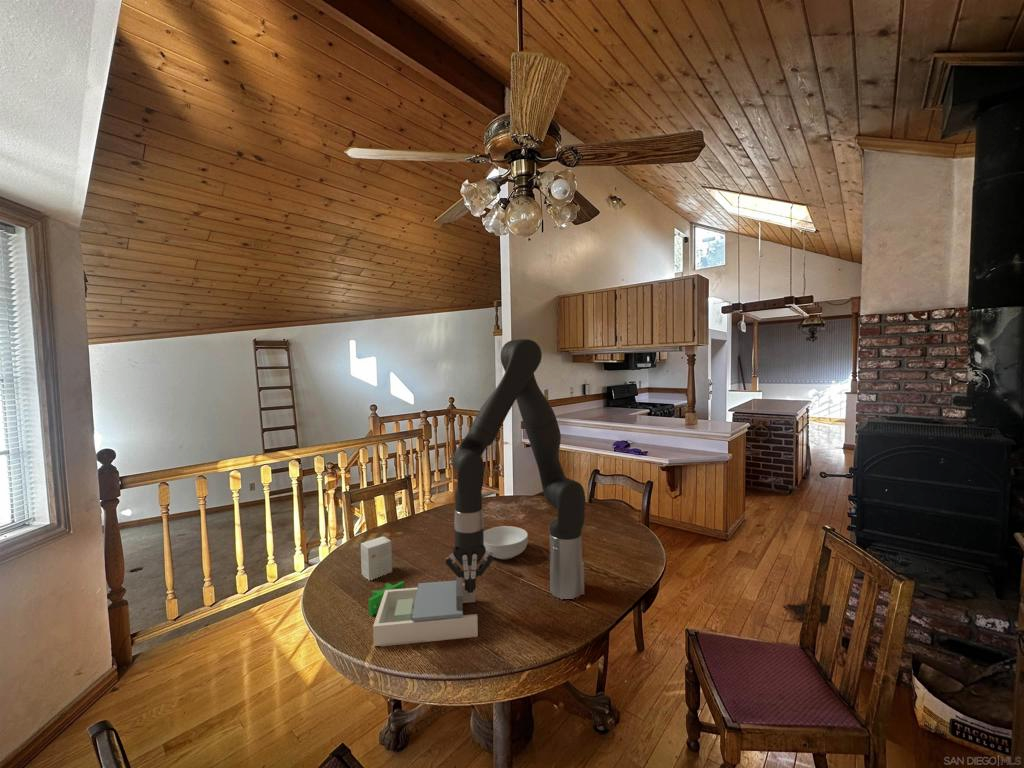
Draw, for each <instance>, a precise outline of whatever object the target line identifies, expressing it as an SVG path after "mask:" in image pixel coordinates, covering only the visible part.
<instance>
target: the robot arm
mask: <svg viewBox="0 0 1024 768" xmlns="http://www.w3.org/2000/svg"><path fill="white" fill-rule="evenodd" d="M542 357H543V355H542V348H541V347H540V345H539V344H538V343H537V342H536V341H534V340H533V339H528V338H527V339H526V338H522V339H521V338H520V339H519V338H518V339H512V340H510V341H507V342H506V343H504V345H503V346H502V348H501V351H500V362H501V365H502V367H503V370H504V375H503V376H502V378H501V380H500V382H499V384H498V385H497V386H496V388H495V389H494V391H493V392H492V393H491V394H490V395H489V397H487V399H486V400H485V402H484V403H483V404H482V406H481V407H480V409H479V411H478V412H477V414H476V416H475V418H474V421H473V422H472V425H470V429H469V430H468V432H467V434H466V435H465V436H464V438H463V439H462V441H461V442H460V444H459V445H458V447H457V449H456V450H455V452H454V455H453V456H452V466H453V469H454V471H456V476H457V479H456V480H457V487H456V488H455V491H454V519H453V522H454V524H453V527H454V547H453V550H452V553H451V554H450V555H447V556H446V557H445V564H446V565H447V567H448V568H449V569H450V570H451V571H452V572H453V574H454V575H457V576H458V577H459V578H461V577H462V579H464V583H465V590H466V591H468V593H473V590H475V591H476V587H477V583H476V579H477V578H478V577H482V576H483V575H484V573H485V572H486V570H487V569H488V567H489V566H490V565H491V564H492V562H493V561H494V557H493V554H492V553H491V552H490V553H489V552H487V551H486V548H485V546H484V524H485V523H484V513H483V493H482V489H483V483H484V479H485V478H484V477H485V465H484V464H485V463H484V459H483V458H482V456H483V454H484V452H485V450H487V447H488V446H489V447H490V446H491V445H492V444H493V442H494V441H495V440H496V437H497V436H498V433H499V431H500V429H501V428H502V425H503V424H504V421H505V419H506V418H507V416H508V414H509V412H510V410H511V408H512V407H513V405H514V403H515V401H516V404H517V406H518V407H517V408H518V410H519V412H520V416H521V419H522V424H523V427H524V429H525V432H526V436H527V439H528V441H529V444H530V447H531V450H532V452H533V457H534V459H535V462H536V466H537V468H538V473H539V478H540V483H541V488H542V491H543V496H544V498H545V500H546V502H547V503H548V504H549V505H550V506H552V507H553V508H555V509H557V518H556V519H554V520H552V521H550V523H549V589H550V590H549V591H550V594H551V595H552V597H554V598H556V597H557V599H559V598H560V599H559V600H563V599H573V600H575V599H574V598H576V597H578V596H580V595H582V594H584V595H585V562H584V560H583V557H582V556H583V553H582V552H583V551H582V550H583V548H582V547H583V544H582V543H583V541H582V534H583V533H582V531H583V527H584V525H585V515H586V493H585V490H584V487H583V485H582V484H581V483H580V482H578V481H577V480H573V479H571V478H568V477H567V476H566V474H565V472H564V470H563V467H562V465H561V461H560V455H559V454H560V448H561V439H562V437H561V430H560V426H559V423H558V419H557V416H556V414H555V412H554V409H553V407H552V406H551V404H550V403H549V401H548V399H547V398H546V396H545V395H544V393H543V392H542V390H541V389H540V387H539V385H538V382H537V379H536V376H535V372H536V370H537V369H538V367H539V366H540V364H541V362H542ZM482 559H483V560H482ZM456 560H457V561H458V562H459V564H460V565H462V566H463V569H462V568H461V567H460V566H459V565H458V564H457V562H456ZM481 560H482V562H481V563H480V561H481ZM477 564H479V566H478V567H477ZM469 566H470V571H469ZM580 597H581V596H580ZM578 598H579V597H578ZM576 599H577V598H576Z"/></svg>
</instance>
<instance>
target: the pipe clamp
mask: <svg viewBox="0 0 1024 768" xmlns="http://www.w3.org/2000/svg"><path fill="white" fill-rule="evenodd" d="M393 589H405V582H404V581H403V580H401V581H399V582H397V583H396V584H394V585H393V584H391V583H389V582H387V583H385V588H383V589H380V590H375V589H373V590H371V597H370V598H368V599H367V601H368V616H370V615H371V616H370V617H373V616H374V614H375V615H377V613H378V610H379V607H380V604H381V601H382V598H383V595H384V592H385V590H393Z"/></svg>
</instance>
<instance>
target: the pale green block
mask: <svg viewBox="0 0 1024 768" xmlns="http://www.w3.org/2000/svg"><path fill="white" fill-rule="evenodd" d="M413 610H414V604H413V598H412V599H401V600H398V601H397V606H396V610H395V614H394V622H399V621H409V620H412V616H413Z"/></svg>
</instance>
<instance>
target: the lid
mask: <svg viewBox="0 0 1024 768" xmlns="http://www.w3.org/2000/svg"><path fill="white" fill-rule="evenodd" d="M455 575H456V574H455ZM462 584H463V578H462V577H461V578H459V577H458V576H457V575H456V578H455V580H444V581H433V582H431V581H430V582H421V583H417V587H418V588H417V587H416V588H417V594H416V599H415V605H414V610H413V616H412V621H423V620H433V619H444V618H454V617H463V615H464V613H463V612H464V611H463V610H464V608H463V604H464V603H463V599H462Z"/></svg>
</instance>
